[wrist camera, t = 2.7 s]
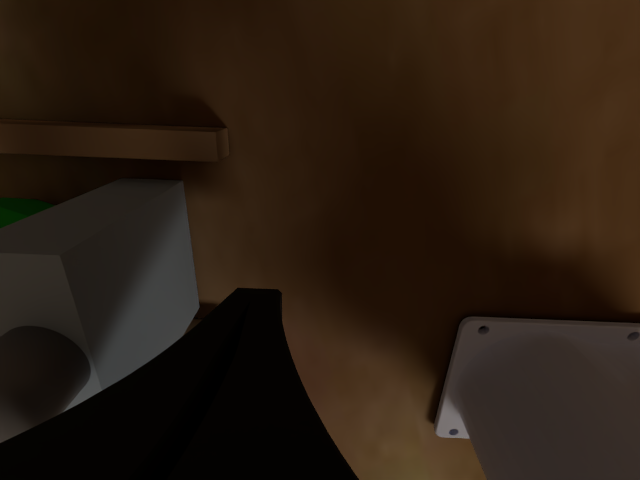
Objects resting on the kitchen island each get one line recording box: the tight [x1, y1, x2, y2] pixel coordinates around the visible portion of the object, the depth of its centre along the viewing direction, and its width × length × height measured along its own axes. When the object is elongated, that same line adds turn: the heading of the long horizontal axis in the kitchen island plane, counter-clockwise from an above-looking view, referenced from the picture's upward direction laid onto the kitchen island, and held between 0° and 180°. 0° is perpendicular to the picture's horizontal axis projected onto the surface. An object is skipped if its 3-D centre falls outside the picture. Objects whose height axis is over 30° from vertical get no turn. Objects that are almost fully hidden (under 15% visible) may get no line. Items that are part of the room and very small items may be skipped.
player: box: [0, 178, 200, 443], centre depth 11 cm, size 2×6×8 cm, turn 178°
